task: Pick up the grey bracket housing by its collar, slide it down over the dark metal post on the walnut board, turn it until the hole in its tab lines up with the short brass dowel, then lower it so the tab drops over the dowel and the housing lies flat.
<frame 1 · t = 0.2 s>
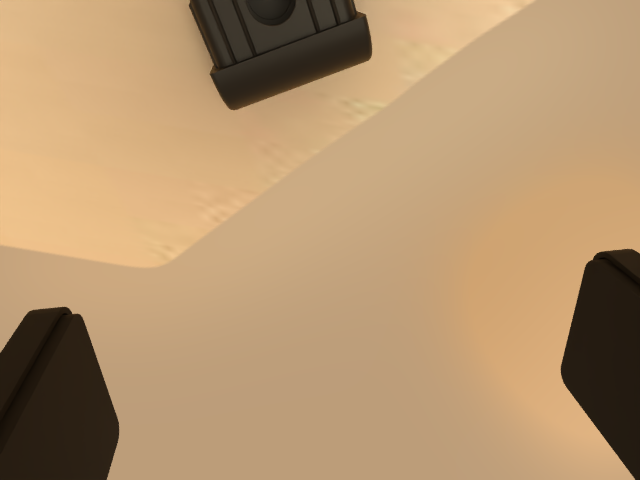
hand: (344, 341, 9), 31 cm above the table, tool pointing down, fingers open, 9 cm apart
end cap: (279, 25, 36), on the table
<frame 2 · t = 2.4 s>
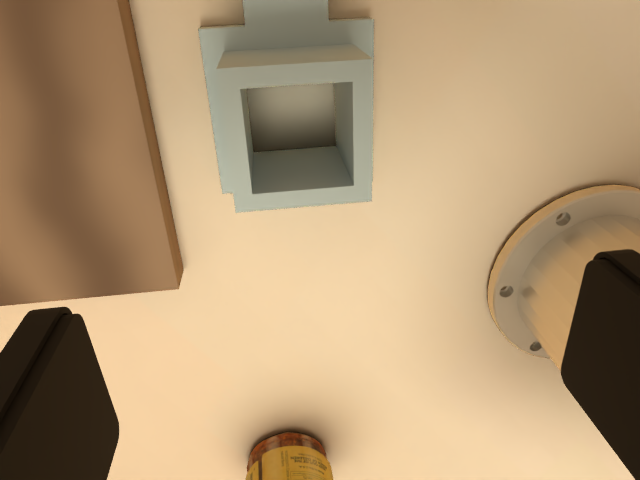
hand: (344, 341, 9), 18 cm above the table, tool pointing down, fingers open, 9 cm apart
grey bracket housing: (292, 107, 25), on the table
sauce bottle: (289, 452, 38), on the table
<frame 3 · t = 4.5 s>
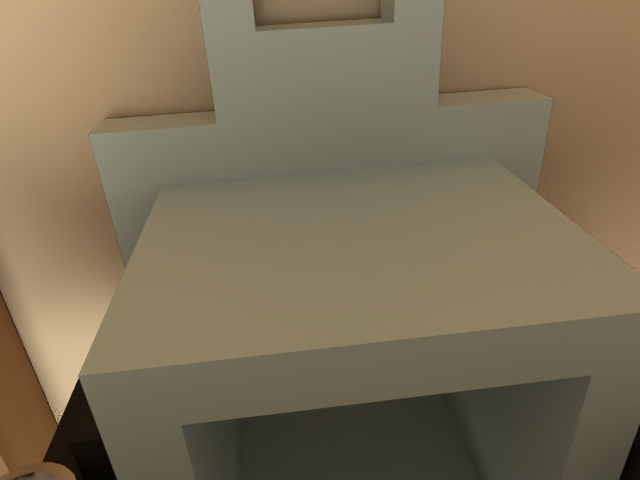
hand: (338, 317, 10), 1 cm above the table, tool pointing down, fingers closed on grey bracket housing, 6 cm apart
grey bracket housing: (330, 280, 11), on the table, touching gripper
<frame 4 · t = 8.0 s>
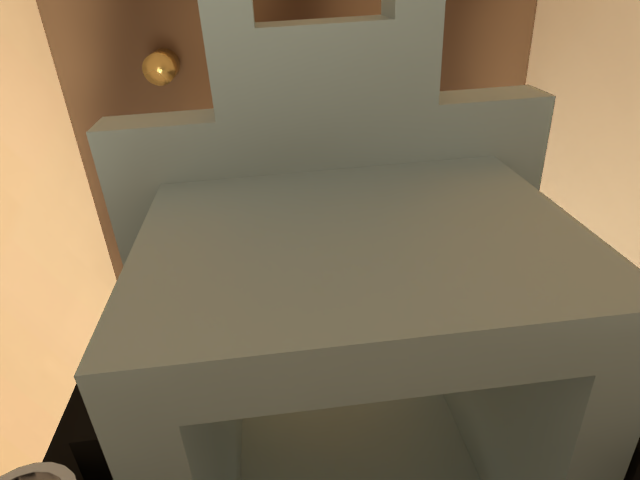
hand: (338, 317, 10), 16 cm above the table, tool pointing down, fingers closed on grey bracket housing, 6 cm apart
grey bracket housing: (330, 280, 11), point 15 cm above the table, touching gripper
brass dowel: (173, 56, 22), resting on post board
post board: (302, 119, 24), on the table
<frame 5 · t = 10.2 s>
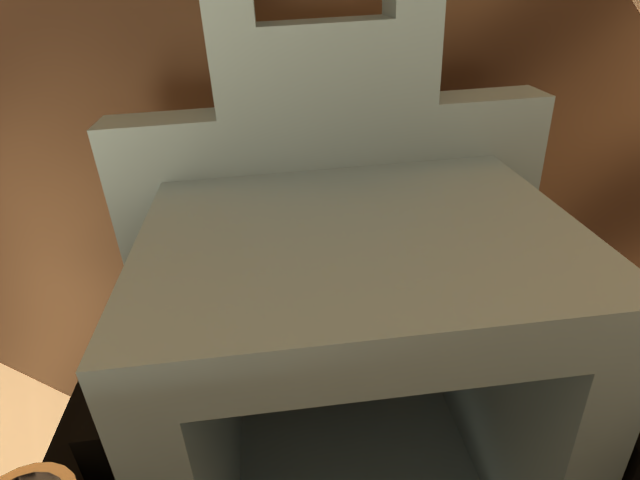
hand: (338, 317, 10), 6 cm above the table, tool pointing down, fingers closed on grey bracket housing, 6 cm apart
grey bracket housing: (330, 279, 11), point 4 cm above the table, touching gripper
post board: (309, 199, 15), on the table
when the fingers open (4 cm above the table, at t = 11.8 s): grey bracket housing stays where it is, resting on post board.
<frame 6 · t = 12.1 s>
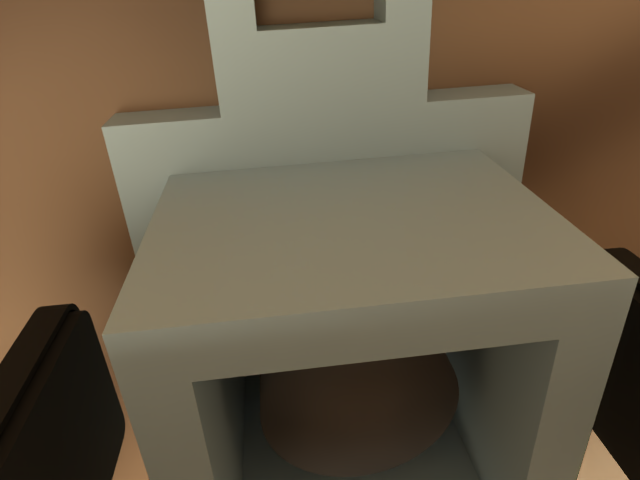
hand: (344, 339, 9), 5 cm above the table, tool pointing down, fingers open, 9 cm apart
grey bracket housing: (327, 267, 12), point 2 cm above the table, touching post board
post board: (317, 227, 14), on the table
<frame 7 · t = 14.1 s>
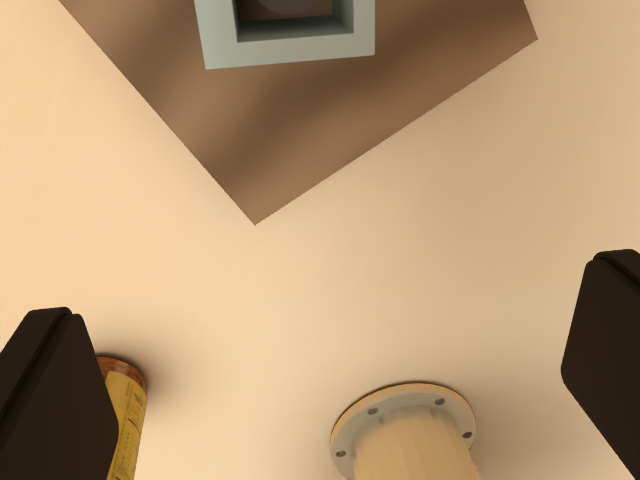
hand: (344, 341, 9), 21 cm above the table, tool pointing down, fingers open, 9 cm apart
sauce bottle: (109, 381, 36), on the table
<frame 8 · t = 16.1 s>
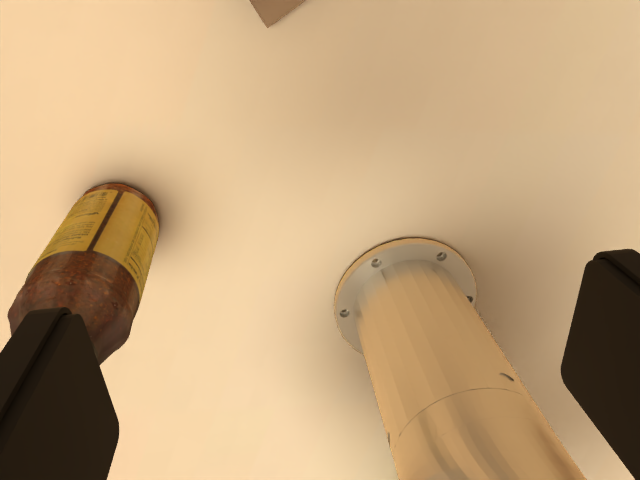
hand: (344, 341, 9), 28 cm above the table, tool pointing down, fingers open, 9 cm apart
sauce bottle: (123, 216, 38), on the table
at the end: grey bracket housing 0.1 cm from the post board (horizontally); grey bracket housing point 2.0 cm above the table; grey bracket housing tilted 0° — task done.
